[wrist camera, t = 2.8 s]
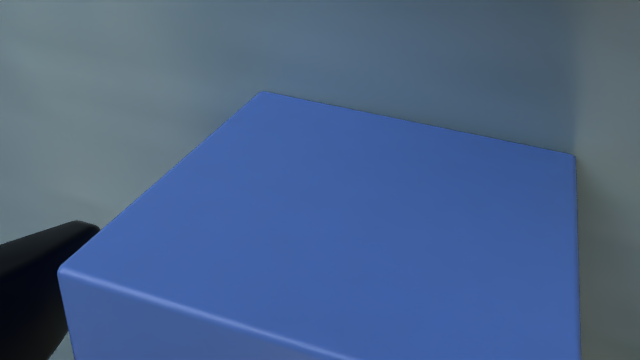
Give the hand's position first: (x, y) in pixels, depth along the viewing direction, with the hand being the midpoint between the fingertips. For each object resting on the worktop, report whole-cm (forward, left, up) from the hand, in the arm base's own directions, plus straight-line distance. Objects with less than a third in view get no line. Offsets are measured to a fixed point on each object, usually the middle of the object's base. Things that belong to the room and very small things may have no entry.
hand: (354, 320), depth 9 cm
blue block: (0, 0, -2) cm, 2 cm away
